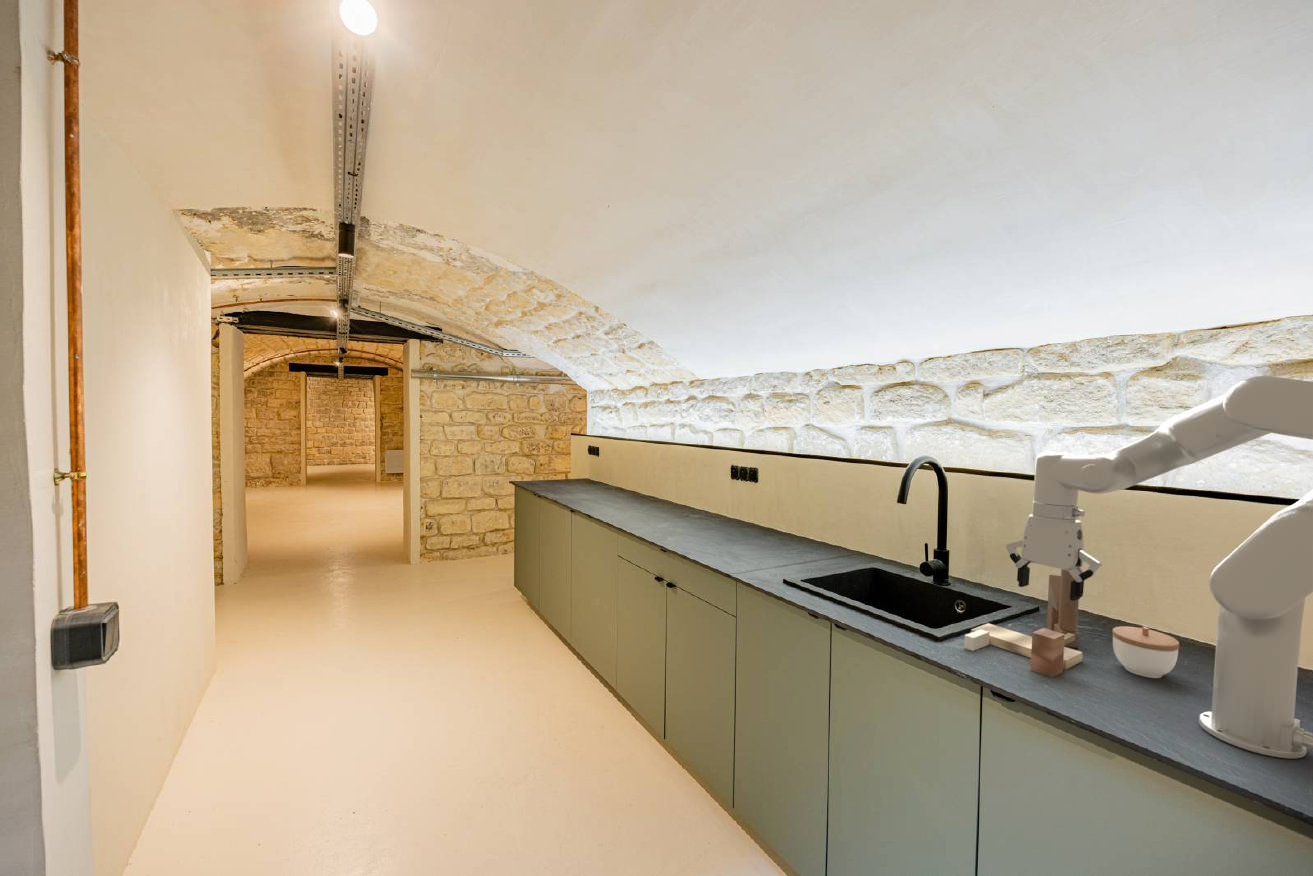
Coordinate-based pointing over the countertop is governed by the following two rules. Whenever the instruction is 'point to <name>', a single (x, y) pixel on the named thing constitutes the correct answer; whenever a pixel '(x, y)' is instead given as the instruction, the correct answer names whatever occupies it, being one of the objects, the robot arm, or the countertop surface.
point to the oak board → (1023, 644)
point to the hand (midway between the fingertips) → (1048, 592)
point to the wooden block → (1062, 607)
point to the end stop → (976, 640)
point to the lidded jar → (1145, 651)
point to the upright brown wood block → (1048, 651)
